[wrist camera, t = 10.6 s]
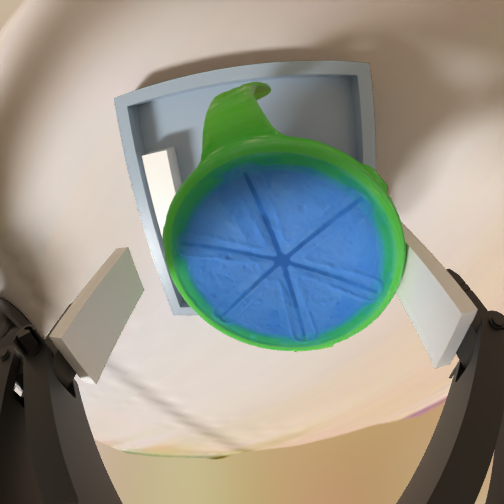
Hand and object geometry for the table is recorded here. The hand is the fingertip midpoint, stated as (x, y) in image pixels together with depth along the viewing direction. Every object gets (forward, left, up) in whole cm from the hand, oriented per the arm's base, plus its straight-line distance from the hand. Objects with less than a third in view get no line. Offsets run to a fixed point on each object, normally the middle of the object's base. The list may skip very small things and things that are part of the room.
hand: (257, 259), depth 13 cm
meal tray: (-1, 0, -10) cm, 10 cm away
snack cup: (+3, +1, -8) cm, 9 cm away
